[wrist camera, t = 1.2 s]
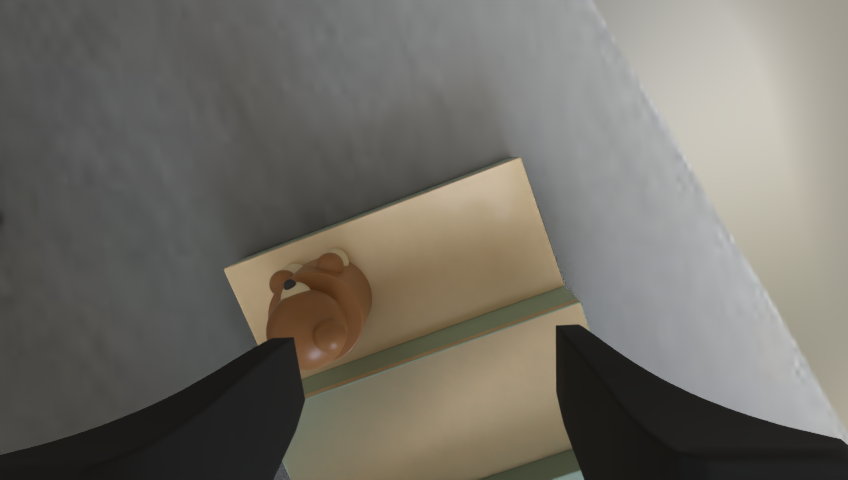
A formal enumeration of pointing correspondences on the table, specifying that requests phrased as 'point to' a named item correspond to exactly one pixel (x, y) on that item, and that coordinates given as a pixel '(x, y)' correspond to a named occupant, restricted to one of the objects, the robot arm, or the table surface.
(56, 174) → the table surface
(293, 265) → the teddy bear
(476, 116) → the table surface
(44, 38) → the table surface
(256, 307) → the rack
